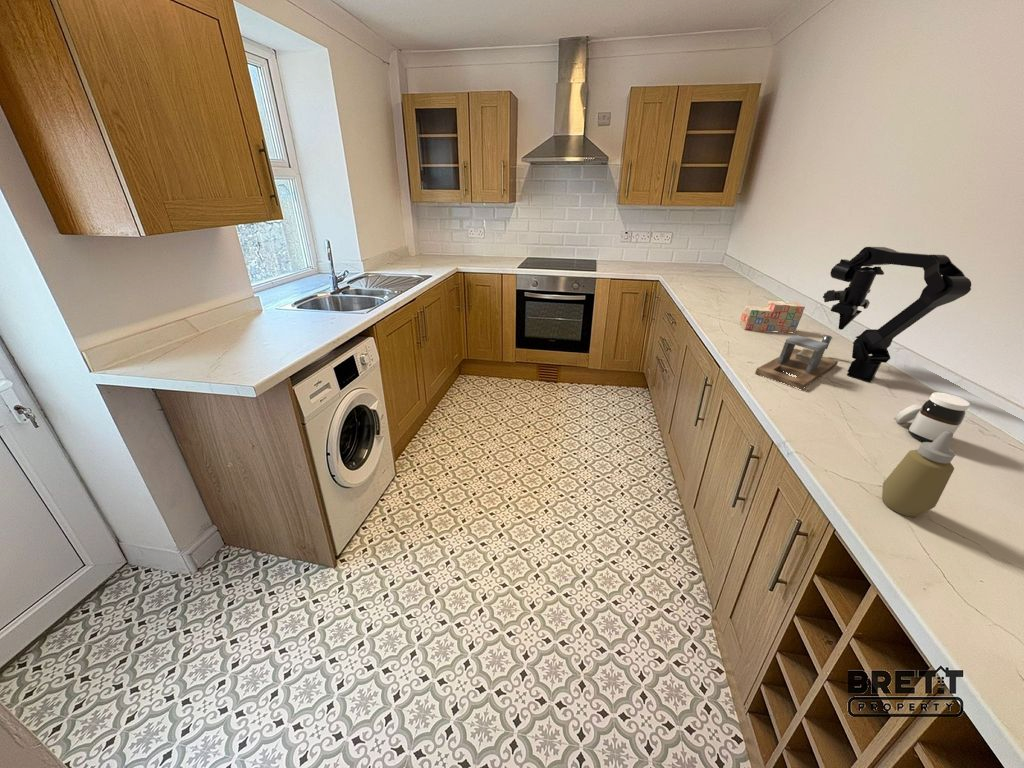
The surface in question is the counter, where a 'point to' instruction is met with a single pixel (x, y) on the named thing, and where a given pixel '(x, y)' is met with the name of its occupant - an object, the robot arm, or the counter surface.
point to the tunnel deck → (798, 363)
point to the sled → (826, 340)
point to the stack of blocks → (772, 317)
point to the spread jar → (934, 416)
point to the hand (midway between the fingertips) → (840, 329)
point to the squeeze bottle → (920, 477)
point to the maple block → (807, 352)
